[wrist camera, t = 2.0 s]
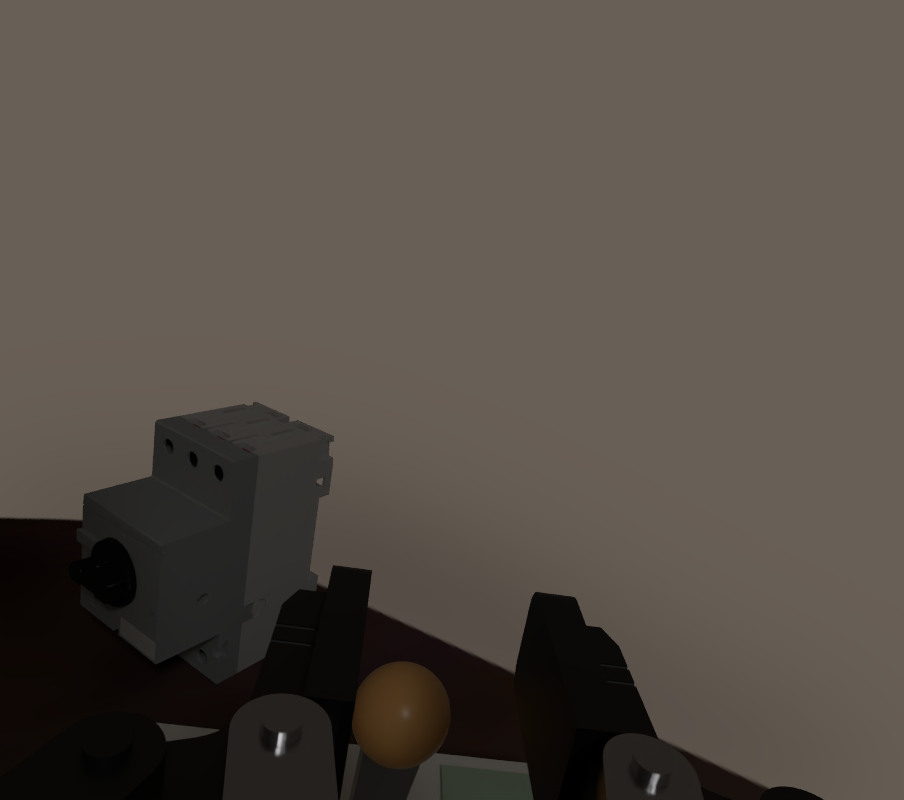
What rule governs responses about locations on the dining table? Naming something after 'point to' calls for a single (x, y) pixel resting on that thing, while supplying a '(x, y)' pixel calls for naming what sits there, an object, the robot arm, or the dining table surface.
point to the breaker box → (429, 774)
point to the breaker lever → (396, 729)
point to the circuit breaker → (207, 537)
